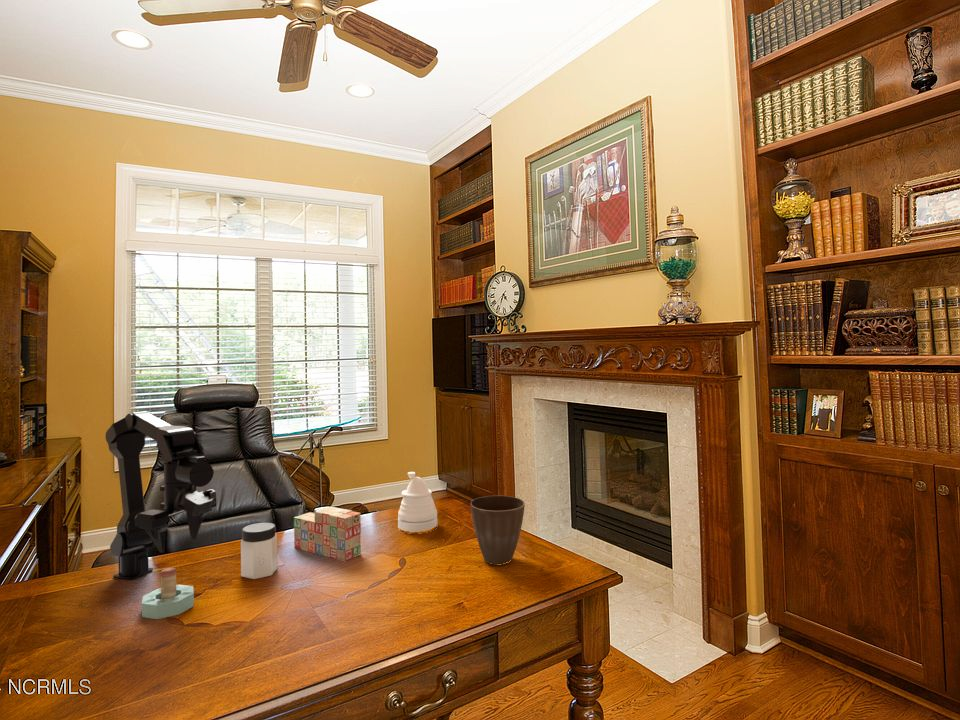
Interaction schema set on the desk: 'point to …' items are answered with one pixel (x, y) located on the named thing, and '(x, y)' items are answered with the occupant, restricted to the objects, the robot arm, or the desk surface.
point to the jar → (258, 550)
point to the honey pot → (417, 507)
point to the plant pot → (497, 526)
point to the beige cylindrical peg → (168, 583)
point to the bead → (167, 603)
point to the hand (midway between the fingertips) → (178, 545)
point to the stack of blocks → (329, 533)
